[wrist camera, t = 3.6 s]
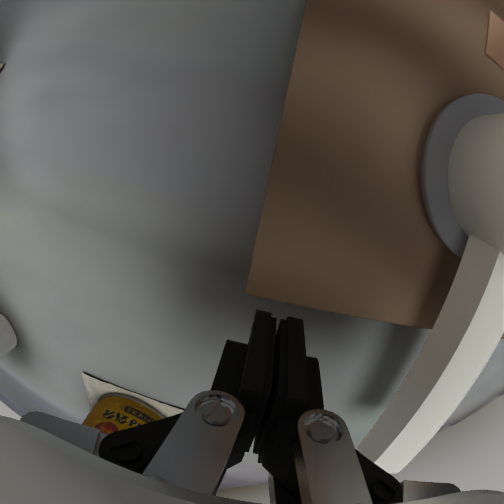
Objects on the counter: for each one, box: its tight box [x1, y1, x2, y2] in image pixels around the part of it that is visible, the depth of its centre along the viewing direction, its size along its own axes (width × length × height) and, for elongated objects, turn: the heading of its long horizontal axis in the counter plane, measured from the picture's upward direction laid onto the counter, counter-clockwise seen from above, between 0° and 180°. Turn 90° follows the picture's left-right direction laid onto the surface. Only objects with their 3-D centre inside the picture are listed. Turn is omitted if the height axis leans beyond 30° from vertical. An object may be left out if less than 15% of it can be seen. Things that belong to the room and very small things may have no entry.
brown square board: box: [245, 0, 504, 339], centre depth 8 cm, size 20×18×2 cm
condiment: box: [82, 373, 184, 434], centre depth 11 cm, size 7×8×12 cm
